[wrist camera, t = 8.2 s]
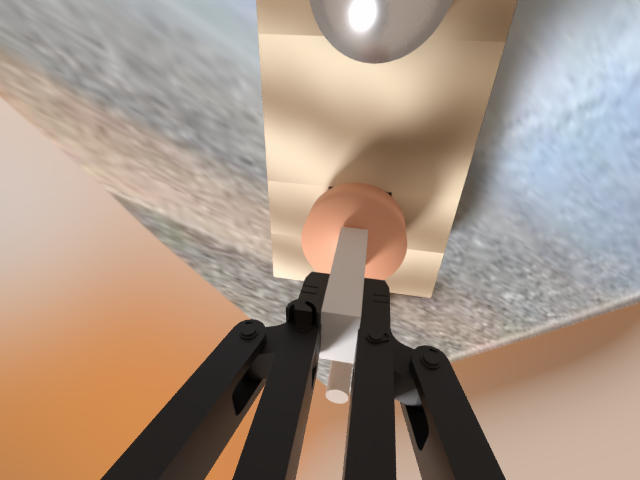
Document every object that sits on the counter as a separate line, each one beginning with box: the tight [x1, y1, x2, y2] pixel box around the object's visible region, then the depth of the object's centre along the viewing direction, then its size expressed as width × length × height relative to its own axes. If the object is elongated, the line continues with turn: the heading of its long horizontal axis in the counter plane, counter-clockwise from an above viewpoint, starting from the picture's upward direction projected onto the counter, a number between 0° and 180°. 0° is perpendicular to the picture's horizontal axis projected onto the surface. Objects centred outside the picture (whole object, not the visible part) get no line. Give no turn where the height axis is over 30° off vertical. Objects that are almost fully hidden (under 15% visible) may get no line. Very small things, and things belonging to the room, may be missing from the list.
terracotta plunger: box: [301, 183, 407, 280], centre depth 21 cm, size 6×6×8 cm
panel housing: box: [256, 0, 518, 298], centre depth 20 cm, size 24×12×6 cm, turn 178°
